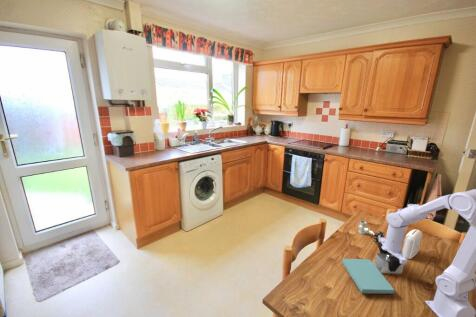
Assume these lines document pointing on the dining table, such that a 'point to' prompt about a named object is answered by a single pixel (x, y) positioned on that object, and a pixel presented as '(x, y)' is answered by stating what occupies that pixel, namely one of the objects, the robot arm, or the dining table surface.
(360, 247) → the dining table surface
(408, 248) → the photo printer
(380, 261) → the housing
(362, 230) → the valve
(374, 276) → the teal flat slab
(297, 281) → the dining table surface
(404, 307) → the dining table surface
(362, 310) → the dining table surface
